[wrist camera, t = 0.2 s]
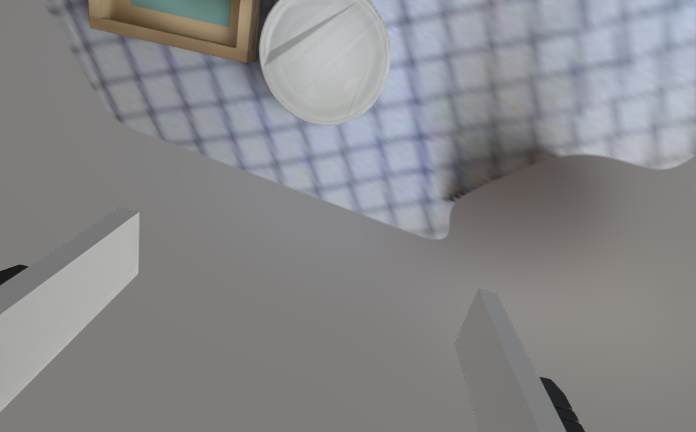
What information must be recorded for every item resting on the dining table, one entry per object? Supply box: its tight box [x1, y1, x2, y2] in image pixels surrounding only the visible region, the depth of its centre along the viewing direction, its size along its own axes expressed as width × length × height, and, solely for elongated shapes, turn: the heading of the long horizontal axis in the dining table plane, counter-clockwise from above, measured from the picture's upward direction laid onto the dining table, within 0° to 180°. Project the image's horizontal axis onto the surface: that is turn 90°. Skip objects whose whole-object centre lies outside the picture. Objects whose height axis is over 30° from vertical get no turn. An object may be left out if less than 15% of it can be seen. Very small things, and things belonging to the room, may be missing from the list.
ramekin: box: [259, 0, 391, 125], centre depth 36 cm, size 11×11×5 cm
